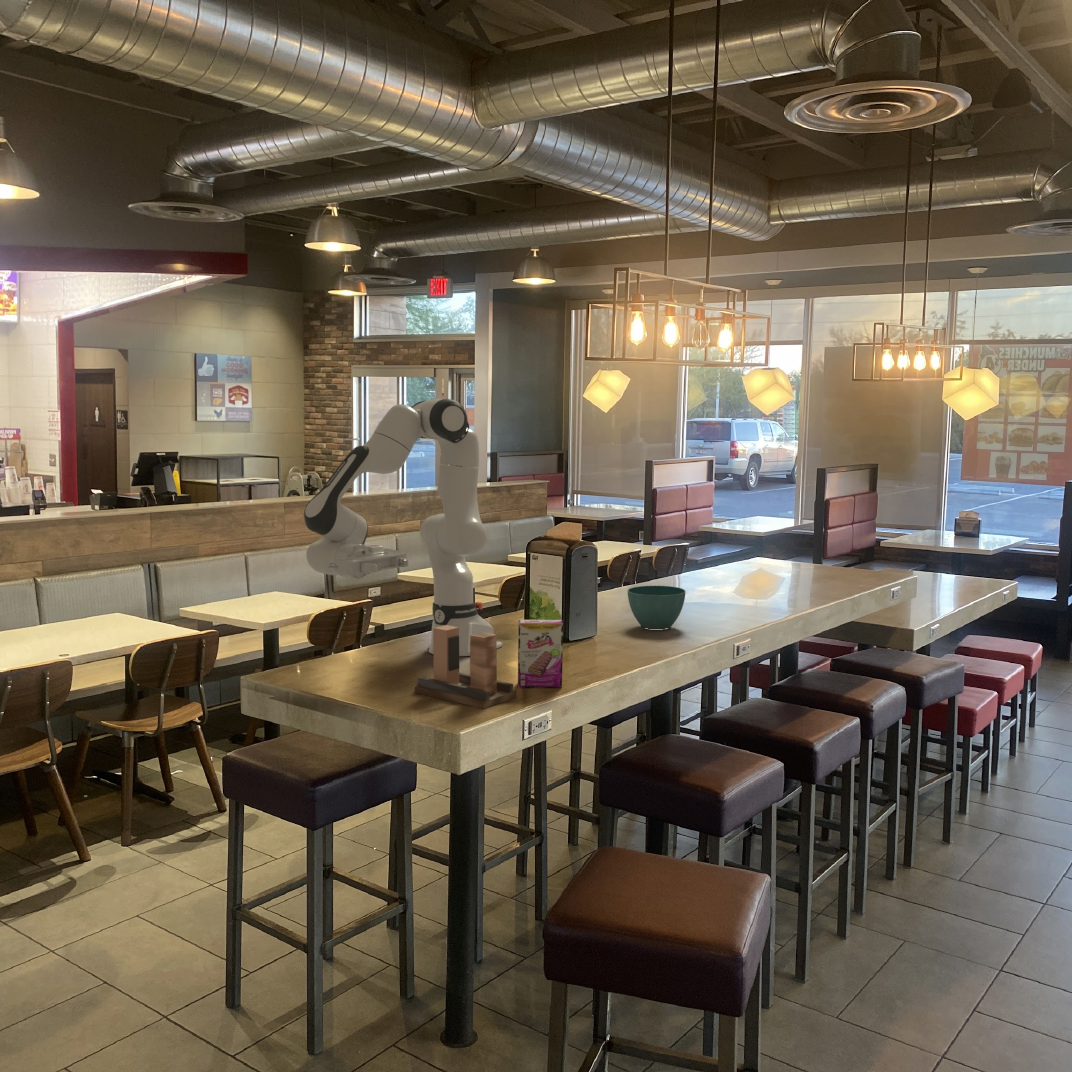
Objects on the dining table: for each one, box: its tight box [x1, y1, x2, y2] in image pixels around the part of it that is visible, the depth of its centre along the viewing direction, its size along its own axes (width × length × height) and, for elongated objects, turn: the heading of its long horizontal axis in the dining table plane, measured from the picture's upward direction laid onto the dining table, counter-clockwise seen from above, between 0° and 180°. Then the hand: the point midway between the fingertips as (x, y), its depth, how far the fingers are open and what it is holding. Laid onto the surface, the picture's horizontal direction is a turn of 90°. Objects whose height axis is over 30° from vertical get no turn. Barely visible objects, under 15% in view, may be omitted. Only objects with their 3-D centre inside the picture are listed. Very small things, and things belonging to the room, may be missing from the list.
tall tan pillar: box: [432, 625, 460, 684], centre depth 247 cm, size 4×5×14 cm
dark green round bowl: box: [627, 585, 686, 629], centre depth 322 cm, size 18×18×12 cm
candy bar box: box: [517, 619, 564, 688], centre depth 252 cm, size 11×5×16 cm, turn 92°
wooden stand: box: [414, 632, 517, 709], centre depth 244 cm, size 12×22×16 cm, turn 52°
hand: (392, 565), depth 253 cm, fingers open, 8 cm apart
